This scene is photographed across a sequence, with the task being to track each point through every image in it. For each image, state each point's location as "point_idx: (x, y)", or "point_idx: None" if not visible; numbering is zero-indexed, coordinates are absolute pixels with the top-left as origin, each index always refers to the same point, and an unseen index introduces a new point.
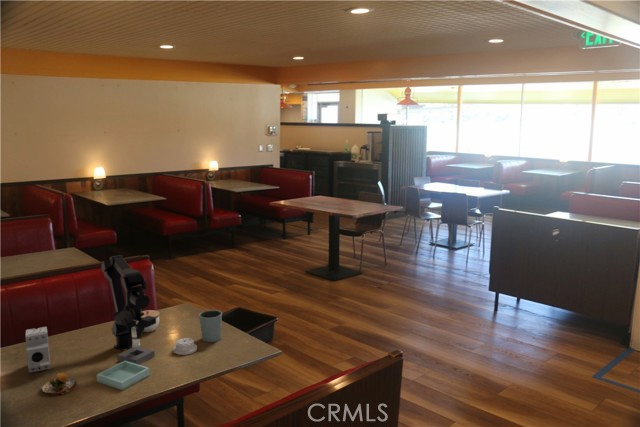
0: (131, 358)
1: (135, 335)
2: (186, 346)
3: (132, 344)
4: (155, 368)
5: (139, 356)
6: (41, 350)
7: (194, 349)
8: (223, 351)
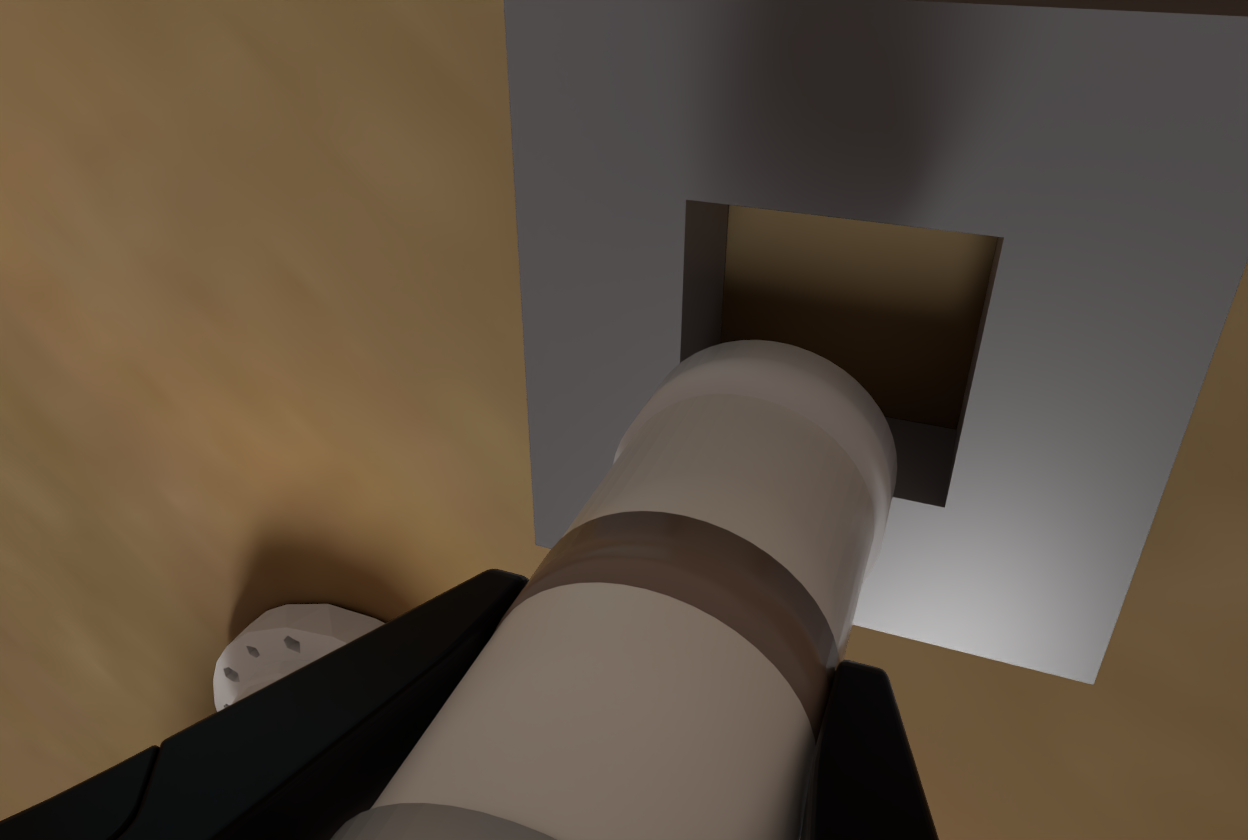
0: (688, 2)
1: (483, 661)
2: None
3: (792, 400)
4: (191, 62)
5: (588, 202)
6: None
7: None
8: (62, 739)
